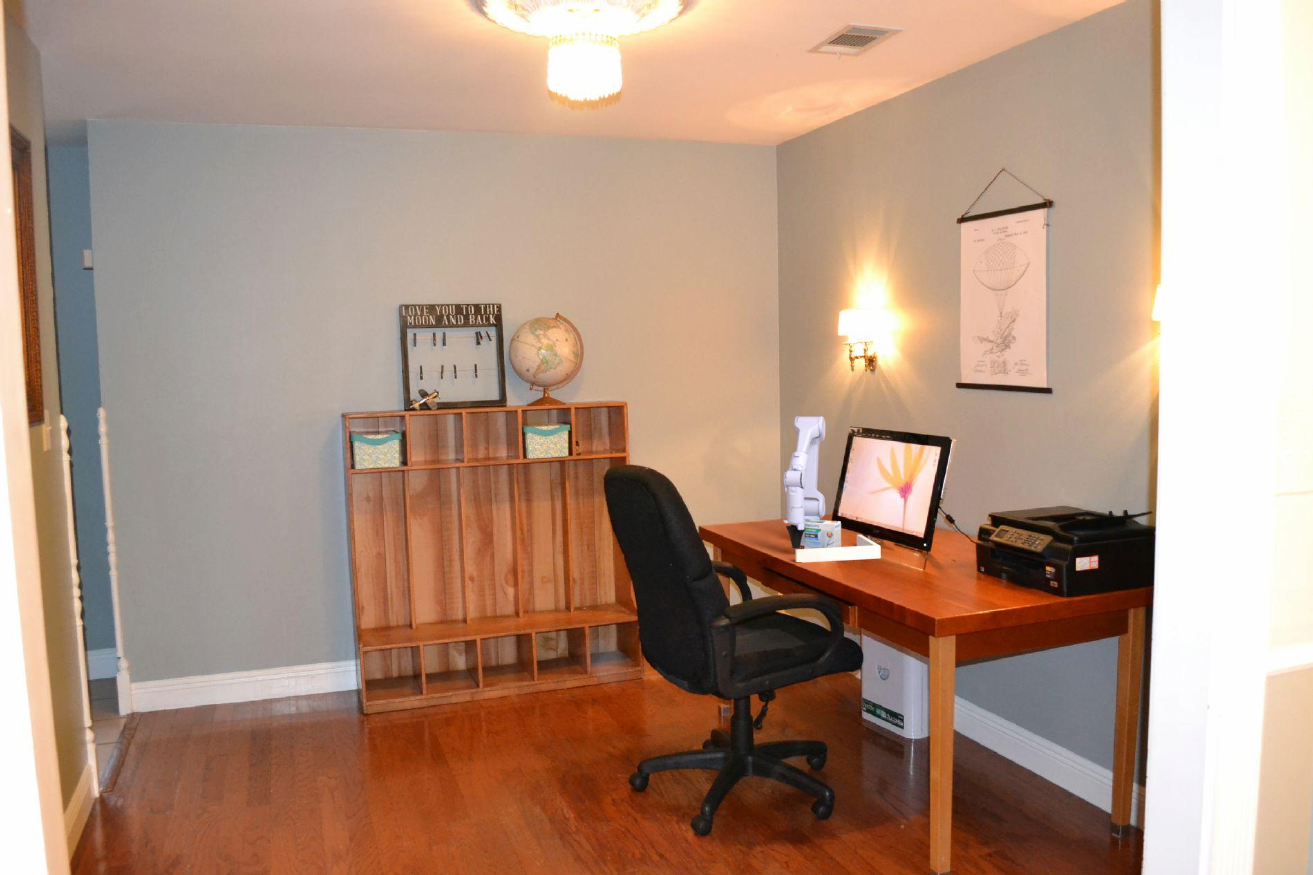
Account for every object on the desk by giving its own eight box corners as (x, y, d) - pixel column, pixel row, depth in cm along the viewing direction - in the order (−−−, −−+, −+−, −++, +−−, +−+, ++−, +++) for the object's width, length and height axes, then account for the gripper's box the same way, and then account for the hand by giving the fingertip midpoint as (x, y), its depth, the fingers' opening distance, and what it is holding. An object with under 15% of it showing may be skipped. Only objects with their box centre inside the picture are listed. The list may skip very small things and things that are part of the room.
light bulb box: (803, 554, 331) (803, 522, 330) (810, 550, 337) (810, 519, 336) (835, 557, 326) (834, 524, 325) (841, 553, 332) (841, 521, 331)
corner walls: (781, 550, 339) (781, 538, 338) (861, 546, 342) (861, 534, 342) (796, 562, 320) (796, 550, 319) (880, 558, 323) (880, 545, 322)
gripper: (778, 503, 336) (778, 543, 338) (788, 510, 322) (789, 552, 323) (798, 502, 337) (799, 542, 339) (810, 509, 323) (810, 551, 324)
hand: (795, 547), depth 331 cm, fingers closed
